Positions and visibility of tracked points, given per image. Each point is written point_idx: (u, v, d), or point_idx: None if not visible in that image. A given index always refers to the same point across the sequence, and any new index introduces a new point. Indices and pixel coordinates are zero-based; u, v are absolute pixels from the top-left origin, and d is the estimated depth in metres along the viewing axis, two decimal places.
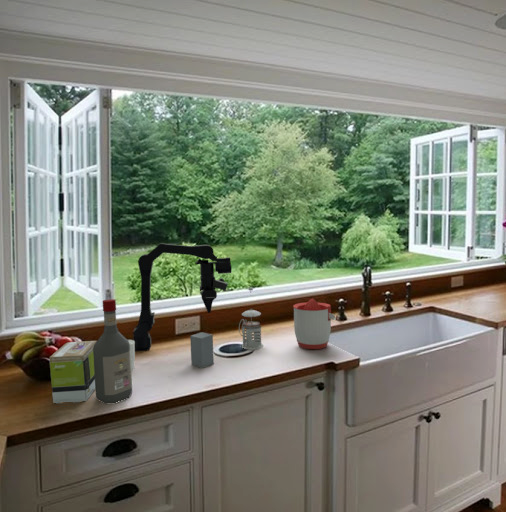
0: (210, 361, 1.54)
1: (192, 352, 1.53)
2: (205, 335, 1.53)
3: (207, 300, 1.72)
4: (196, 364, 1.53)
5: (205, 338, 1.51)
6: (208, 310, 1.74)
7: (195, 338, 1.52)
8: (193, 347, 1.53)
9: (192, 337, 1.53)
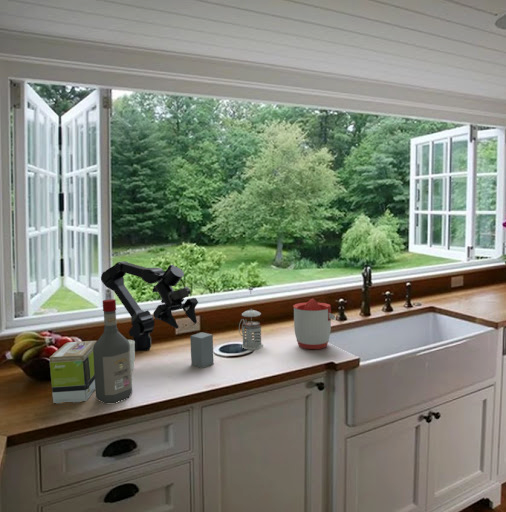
0: (210, 361, 1.54)
1: (192, 352, 1.53)
2: (205, 335, 1.53)
3: (167, 317, 1.57)
4: (196, 364, 1.53)
5: (205, 338, 1.51)
6: (174, 326, 1.56)
7: (195, 338, 1.52)
8: (193, 347, 1.53)
9: (192, 337, 1.53)
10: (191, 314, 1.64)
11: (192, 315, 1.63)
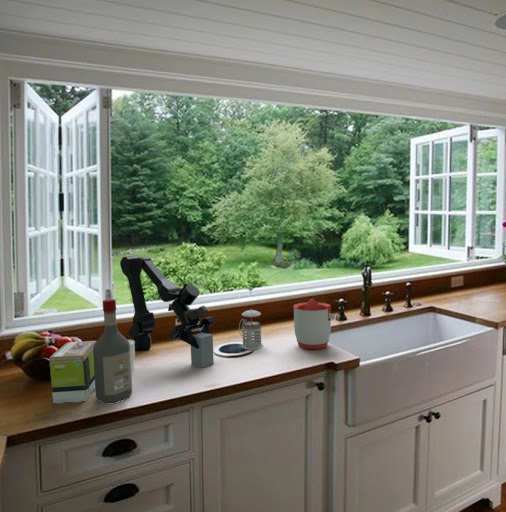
0: (210, 361, 1.54)
1: (192, 352, 1.53)
2: (205, 335, 1.53)
3: (187, 337, 1.53)
4: (196, 364, 1.53)
5: (205, 338, 1.51)
6: (195, 346, 1.51)
7: (195, 338, 1.52)
8: (193, 347, 1.53)
9: None
10: None
11: None
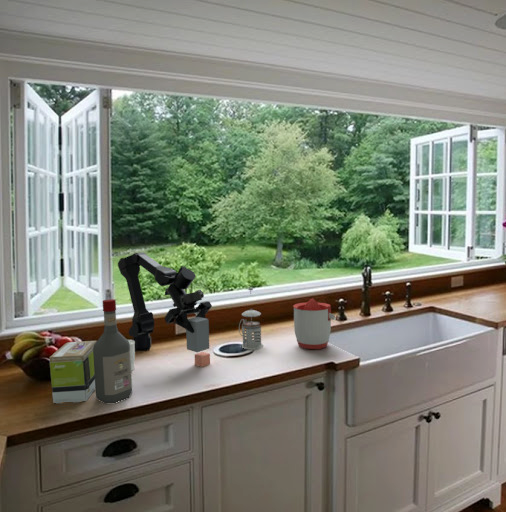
0: (206, 346, 1.51)
1: (187, 336, 1.51)
2: (201, 319, 1.51)
3: (182, 321, 1.50)
4: (191, 348, 1.50)
5: (200, 322, 1.49)
6: (190, 330, 1.49)
7: (190, 322, 1.49)
8: (188, 331, 1.51)
9: None
10: None
11: None
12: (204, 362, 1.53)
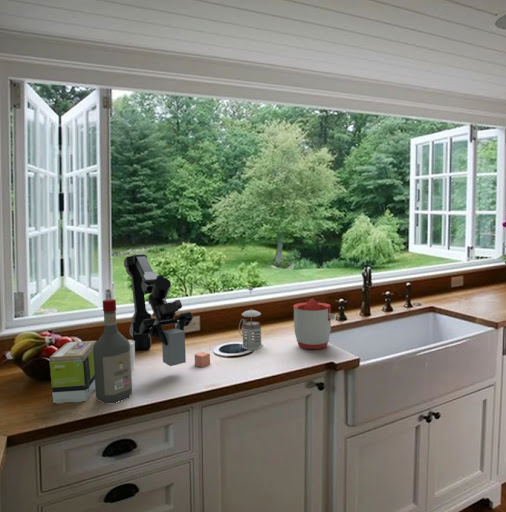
0: (181, 359, 1.43)
1: (163, 348, 1.44)
2: (176, 331, 1.43)
3: (157, 332, 1.44)
4: (166, 362, 1.43)
5: (175, 334, 1.41)
6: (164, 343, 1.42)
7: (165, 334, 1.42)
8: None
9: None
10: None
11: None
12: (204, 362, 1.53)
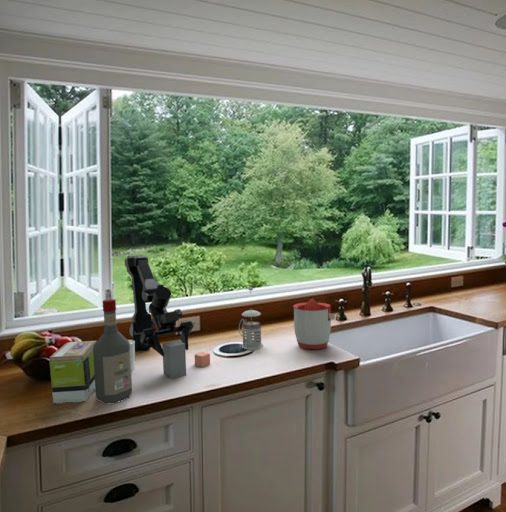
0: (182, 372, 1.44)
1: (164, 361, 1.45)
2: (177, 344, 1.43)
3: (154, 343, 1.43)
4: (167, 374, 1.43)
5: (175, 347, 1.42)
6: (160, 353, 1.41)
7: (165, 346, 1.43)
8: (164, 356, 1.44)
9: (163, 345, 1.44)
10: (184, 339, 1.48)
11: (184, 341, 1.48)
12: (204, 362, 1.53)
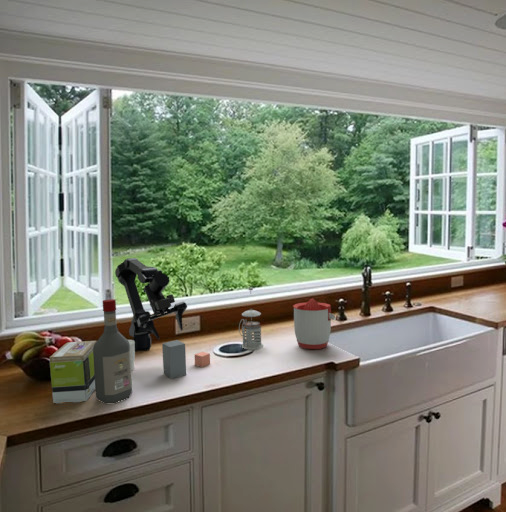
0: (182, 372, 1.44)
1: (164, 361, 1.45)
2: (177, 344, 1.43)
3: (150, 326, 1.56)
4: (167, 374, 1.43)
5: (175, 347, 1.42)
6: (156, 336, 1.54)
7: (165, 346, 1.43)
8: (164, 356, 1.44)
9: (163, 345, 1.44)
10: (178, 320, 1.60)
11: (179, 322, 1.59)
12: (204, 362, 1.53)
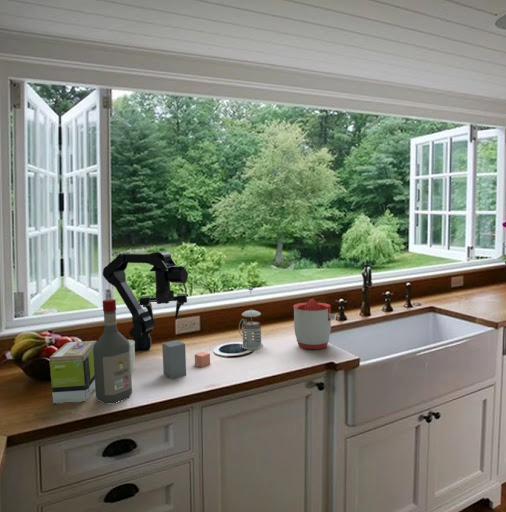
0: (182, 372, 1.44)
1: (164, 361, 1.45)
2: (177, 344, 1.43)
3: None
4: (167, 374, 1.43)
5: (175, 347, 1.42)
6: None
7: (165, 346, 1.43)
8: (164, 356, 1.44)
9: (163, 345, 1.44)
10: None
11: None
12: (204, 362, 1.53)
